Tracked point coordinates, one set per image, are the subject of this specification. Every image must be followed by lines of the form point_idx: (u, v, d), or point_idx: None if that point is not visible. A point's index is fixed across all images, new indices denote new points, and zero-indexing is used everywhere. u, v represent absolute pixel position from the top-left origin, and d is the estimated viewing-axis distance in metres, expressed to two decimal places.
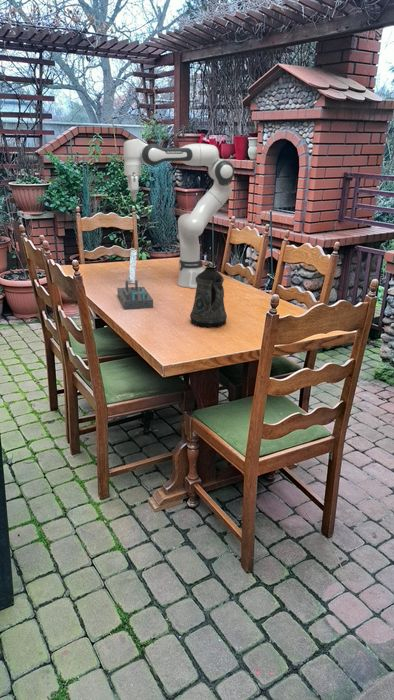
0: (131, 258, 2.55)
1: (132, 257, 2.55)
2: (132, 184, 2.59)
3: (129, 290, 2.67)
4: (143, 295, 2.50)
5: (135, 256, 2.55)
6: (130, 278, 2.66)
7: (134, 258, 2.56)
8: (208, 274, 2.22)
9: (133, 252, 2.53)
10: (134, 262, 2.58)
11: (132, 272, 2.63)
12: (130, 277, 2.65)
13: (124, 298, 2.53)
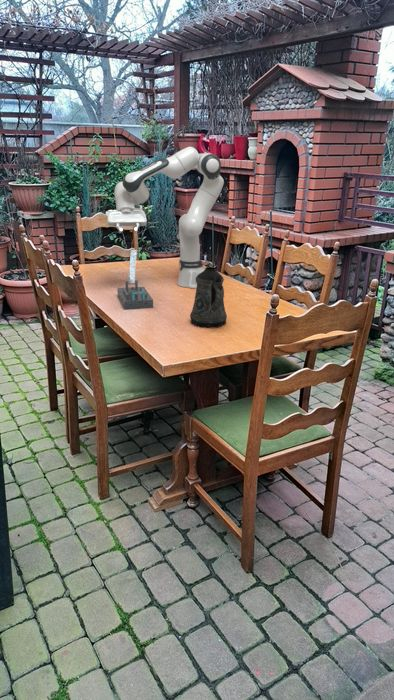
0: (131, 258, 2.55)
1: (132, 257, 2.55)
2: None
3: (129, 290, 2.67)
4: (143, 295, 2.50)
5: (135, 256, 2.55)
6: (130, 278, 2.66)
7: (134, 258, 2.56)
8: (208, 274, 2.22)
9: (133, 252, 2.53)
10: (134, 262, 2.58)
11: (132, 272, 2.63)
12: (130, 277, 2.65)
13: (124, 298, 2.53)
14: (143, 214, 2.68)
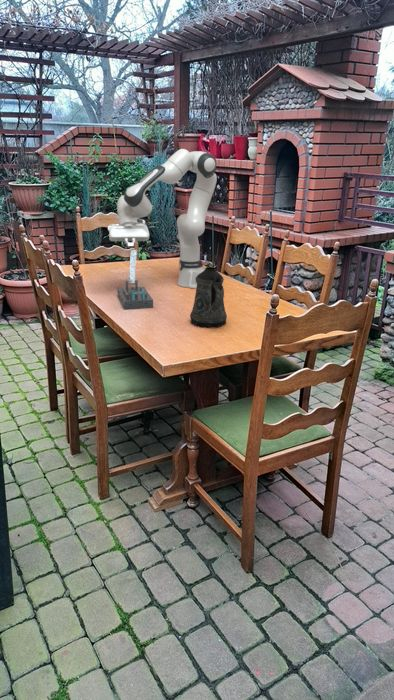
0: (131, 258, 2.55)
1: (132, 257, 2.55)
2: None
3: (129, 290, 2.67)
4: (143, 295, 2.50)
5: (135, 256, 2.55)
6: (130, 278, 2.66)
7: (134, 258, 2.56)
8: (208, 274, 2.22)
9: (133, 252, 2.53)
10: (134, 262, 2.58)
11: (132, 272, 2.63)
12: (130, 277, 2.65)
13: (124, 298, 2.53)
14: (146, 229, 2.63)
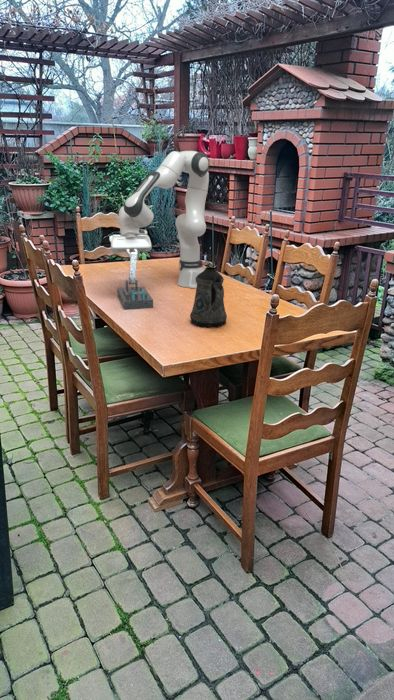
0: (131, 260, 2.55)
1: (132, 259, 2.54)
2: None
3: (129, 290, 2.67)
4: (143, 295, 2.50)
5: (135, 258, 2.54)
6: (130, 278, 2.66)
7: (134, 260, 2.55)
8: (208, 274, 2.22)
9: (133, 254, 2.52)
10: (134, 264, 2.57)
11: (132, 273, 2.62)
12: (130, 278, 2.65)
13: (124, 298, 2.53)
14: (148, 239, 2.60)
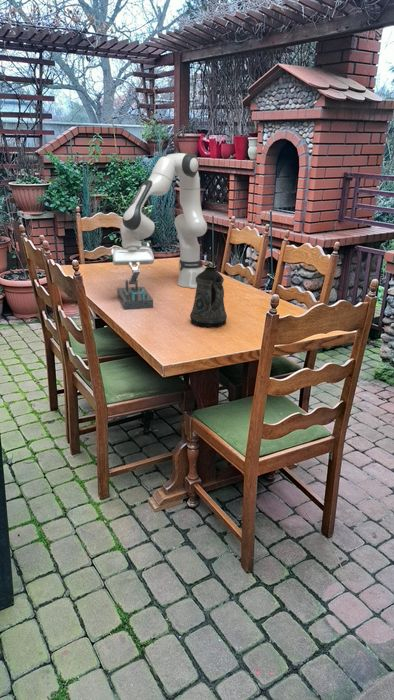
0: (133, 274, 2.52)
1: (134, 274, 2.52)
2: None
3: (129, 290, 2.67)
4: (143, 295, 2.50)
5: (138, 274, 2.51)
6: (130, 282, 2.65)
7: (136, 274, 2.53)
8: (208, 274, 2.22)
9: (136, 272, 2.49)
10: (136, 276, 2.55)
11: (133, 279, 2.61)
12: (131, 281, 2.65)
13: (124, 298, 2.53)
14: (150, 252, 2.57)
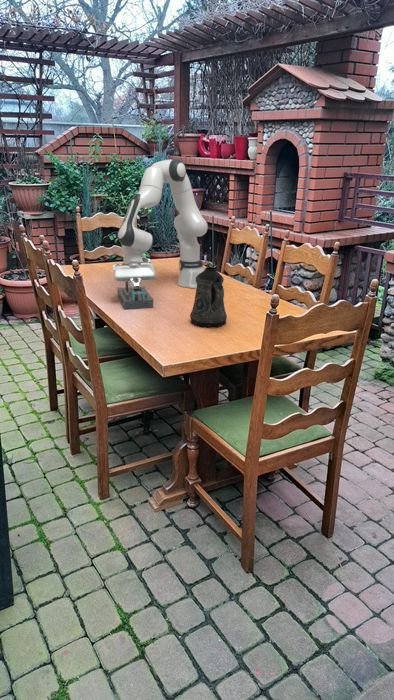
0: None
1: None
2: None
3: (129, 290, 2.67)
4: (143, 295, 2.50)
5: None
6: None
7: None
8: (208, 274, 2.22)
9: None
10: None
11: None
12: None
13: (124, 298, 2.53)
14: (151, 268, 2.57)
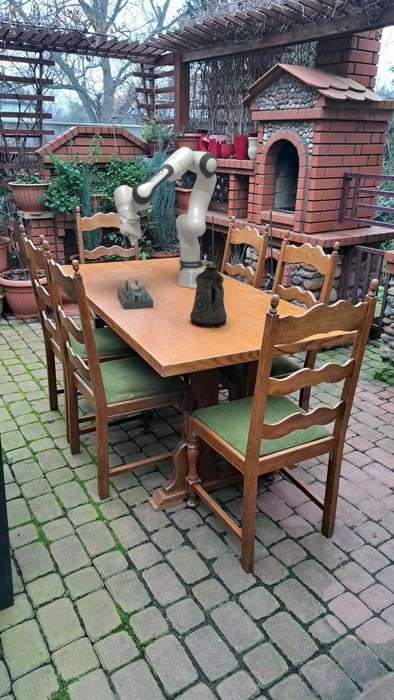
0: None
1: None
2: (120, 227, 2.50)
3: (129, 290, 2.67)
4: (143, 295, 2.50)
5: None
6: None
7: None
8: (208, 274, 2.22)
9: None
10: None
11: None
12: None
13: (124, 298, 2.53)
14: (140, 229, 2.67)
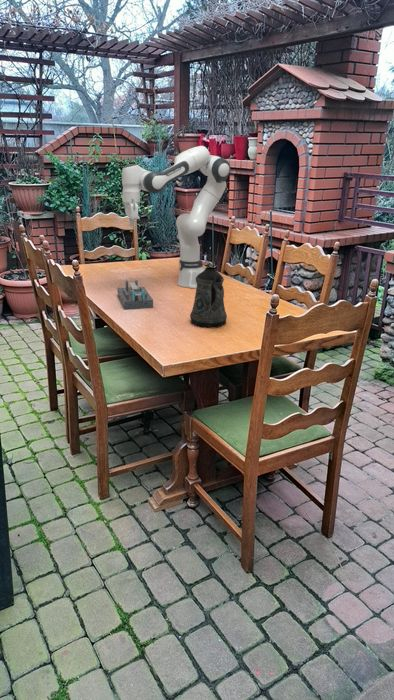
0: None
1: None
2: (132, 212, 2.53)
3: (129, 290, 2.67)
4: (143, 295, 2.50)
5: None
6: None
7: None
8: (208, 274, 2.22)
9: None
10: None
11: None
12: None
13: (124, 298, 2.53)
14: None
